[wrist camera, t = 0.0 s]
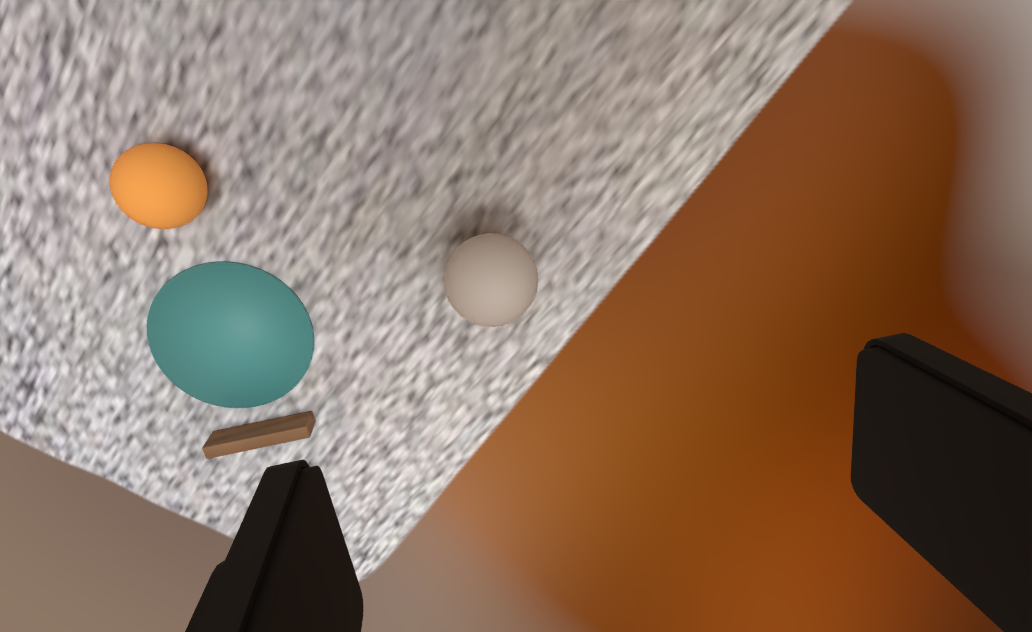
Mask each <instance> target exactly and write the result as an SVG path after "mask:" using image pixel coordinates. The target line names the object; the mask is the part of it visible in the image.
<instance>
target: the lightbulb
mask: <svg viewBox="0 0 1032 632" xmlns="http://www.w3.org/2000/svg"><path fill="white" fill-rule="evenodd" d="M444 285H445V292H446V295H447V298H448V300H449V302H450V304H451V305H452V307H453V308H454V309H455V310H456V311H457V312H458V314H459V315H460V316H462V317H463V318H464V319H466V320H467V321H469V322H471V323H474V324H476V325H480V326H485V327H497V326H503V325H506V324H509V323H511V322H513V321H515V320H517V319H518V318H519V317H520V316H522V315H523V314H524V313H525V312H526V311H527V309H528V308H529V307H530V306H531V304H532V302H533V300H534V298H535V295H536V292H537V285H538V273H537V268H536V265H535V262H534V260H533V258H532V256H531V255H530V253H529V252H528V251H527V249H526V248H525V247H524V246H523V245H522V244H521V243H519V242H518V241H517V240H515V239H513V238H511V237H509V236H506V235H502V234H496V233H487V234H480V235H477V236H474V237H471V238H470V239H468V240H466V241H464V242H463V243H462V244H461V245H459V246H458V247H457V248H456V249H455V251H454V252H453V253H452V254H451V256H450V258H449V260H448V262H447V265H446V268H445V273H444Z"/></svg>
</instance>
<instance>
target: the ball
mask: <svg viewBox="0 0 1032 632" xmlns="http://www.w3.org/2000/svg"><path fill="white" fill-rule="evenodd" d="M110 189H111V193H112V196H113V198H114V200H115V202H116V204H117V205H118V206H119V208H120V209H121V210H122V211H123V212H124V213H125V214H126V215H127V216H128V217H130V218H131V219H132V220H134V221H136V222H138V223H140V224H142V225H145V226H148V227H152V228H157V229H170V228H176V227H180V226H182V225H185V224H187V223H189V222H190V221H192V220H193V219H194V218H196V217H197V216H198V215H199V213H200V212H201V211H202V209H203V207H204V205H205V203H206V200H207V194H208V188H207V182H206V178H205V175H204V173H203V171H202V169H201V168H200V166H199V165H198V164H197V163H196V161H195V160H194V159H193V158H192V157H190V156H189V155H188V154H187V153H185V152H184V151H182V150H180V149H178V148H176V147H173V146H170V145H166V144H161V143H145V144H141V145H137V146H134V147H132V148H130V149H128V150H126V151H125V152H124V153H123V154H121V155H120V156H119V158H118V159H117V160H116V162H115V163H114V165H113V167H112V170H111V173H110Z"/></svg>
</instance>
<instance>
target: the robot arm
mask: <svg viewBox="0 0 1032 632" xmlns="http://www.w3.org/2000/svg"><path fill="white" fill-rule="evenodd" d="M852 445H853V446H852V463H851V465H852V466H851V483H852V486H853V489H854V491H855V493H856V494H857V496H858V497H859V498H860V499H861V500H862V501H863V502H864V503H865V504H866V505H867V506H868V507H869V508H870V509H871V510H872V511H874V512H875V513H876V514H877V515H878V516H879V517H880V518H881V519H882V520H883V521H884V522H886V524H888V525H889V526H890V527H891V528H892V529H893V530H894V531H895V532H896V533H897V534H899V536H901V537H902V538H903V539H904V540H905V541H906V542H907V543H908V544H909V545H910V546H912V548H914V549H915V550H916V551H917V552H918V553H919V554H920V555H921V556H922V557H924V559H926V560H927V561H928V562H929V563H930V564H931V565H932V566H933V567H934V568H935V569H936V570H937V571H938V572H940V573H941V574H942V575H943V576H944V577H945V578H946V579H947V580H948V581H949V582H950V583H951V584H953V585H954V586H955V587H956V588H957V589H958V590H959V591H960V592H961V593H962V594H963V595H964V596H966V597H967V598H968V599H969V600H970V601H971V602H972V603H973V604H974V605H975V606H976V607H978V608H979V609H980V610H981V611H982V612H983V613H984V614H985V615H986V616H987V617H988V618H989V619H990V620H992V621H993V622H994V623H995V624H996V625H997V626H998V627H999V628H1000V629H1001V630H1003V631H1004V632H1032V393H1030V392H1028V391H1025V390H1024V389H1021V388H1019V387H1017V386H1015V385H1013V384H1011V383H1009V382H1007V381H1005V380H1003V379H1001V378H999V377H997V376H995V375H993V374H991V373H988V372H986V371H984V370H982V369H980V368H978V367H976V366H974V365H972V364H970V363H968V362H966V361H964V360H962V359H959V358H958V357H955V356H953V355H951V354H949V353H947V352H945V351H943V350H941V349H939V348H937V347H935V346H933V345H931V344H929V343H926V342H924V341H922V340H920V339H918V338H916V337H914V336H912V335H910V334H906V333H901V334H895V335H891V336H886V337H881V338H876V339H872V340H870V341H868V342H867V344H866V345H865V347H864V350H862V351H860V352H859V354H858V357H857V368H856V388H855V406H854V425H853V444H852ZM362 620H363V598H362V592H361V589H360V586H359V582H358V579H357V576H356V573H355V570H354V567H353V564H352V561H351V558H350V555H349V552H348V549H347V546H346V543H345V540H344V537H343V534H342V531H341V528H340V525H339V522H338V519H337V516H336V513H335V510H334V506H333V503H332V500H331V497H330V494H329V491H328V488H327V485H326V482H325V479H324V476H323V473H322V471H321V469H320V467H319V466H313V467H309V465H308V463H307V462H306V461H305V460H299V461H294V462H289V463H284V464H280V465H275V466H270V467H267V469H266V470H265V472H264V474H263V476H262V478H261V481H260V483H259V485H258V487H257V490H256V492H255V494H254V496H253V499H252V501H251V503H250V505H249V508H248V510H247V512H246V514H245V517H244V519H243V521H242V523H241V526H240V528H239V530H238V532H237V535H236V537H235V539H234V541H233V544H232V546H231V548H230V550H229V553H228V555H227V557H226V559H225V561H223V562H221V563H220V564H218V565H217V566H216V568H215V570H214V571H213V572H212V575H211V577H210V579H209V581H208V583H207V585H206V587H205V590H204V592H203V594H202V596H201V598H200V601H199V603H198V605H197V607H196V609H195V611H194V613H193V616H192V618H191V620H190V622H189V625H188V627H187V629H186V631H185V632H361V627H362Z"/></svg>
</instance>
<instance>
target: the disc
mask: <svg viewBox="0 0 1032 632" xmlns="http://www.w3.org/2000/svg"><path fill="white" fill-rule="evenodd" d="M147 337H148V342H149V346H150V349H151V352H152V355H153V357H154V359H155V361H156V363H157V364H158V366H159V367H160V369H161V370H162V372H163V373H164V374H165V375H166V376H167V378H168V379H169V380H170V381H171V382H173V383H174V384H175V385H176V386H177V387H178V388H180V389H181V390H183V391H184V392H185V393H187V394H189V395H191V396H192V397H194V398H196V399H199V400H201V401H203V402H206V403H209V404H213V405H216V406H222V407H229V408H248V407H255V406H260V405H263V404H267V403H269V402H272V401H274V400H276V399H278V398H280V397H282V396H284V395H285V394H286V393H288V392H289V391H290V390H292V389H293V388H294V387H295V386H296V385H297V384H298V383H299V381H300V380H301V379H302V377H303V376H304V374H305V373H306V371H307V369H308V367H309V364H310V362H311V359H312V354H313V349H314V335H313V328H312V324H311V321H310V318H309V315H308V313H307V311H306V309H305V307H304V305H303V304H302V302H301V301H300V300H299V298H298V297H297V296H296V295H295V293H294V292H293V291H292V290H291V289H290V288H289V287H288V286H286V285H285V284H284V283H283V282H282V281H280V280H279V279H277V278H276V277H274V276H273V275H271V274H269V273H267V272H265V271H263V270H261V269H258V268H255V267H253V266H249V265H245V264H241V263H234V262H212V263H205V264H201V265H197V266H194V267H192V268H189V269H187V270H185V271H183V272H181V273H179V274H178V275H176V276H175V277H173V278H172V279H171V280H169V281H168V282H167V283H166V284H165V285H164V286H163V287H162V288H161V289H160V291H159V292H158V294H157V295H156V297H155V298H154V300H153V303H152V305H151V307H150V311H149V314H148V320H147Z"/></svg>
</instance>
